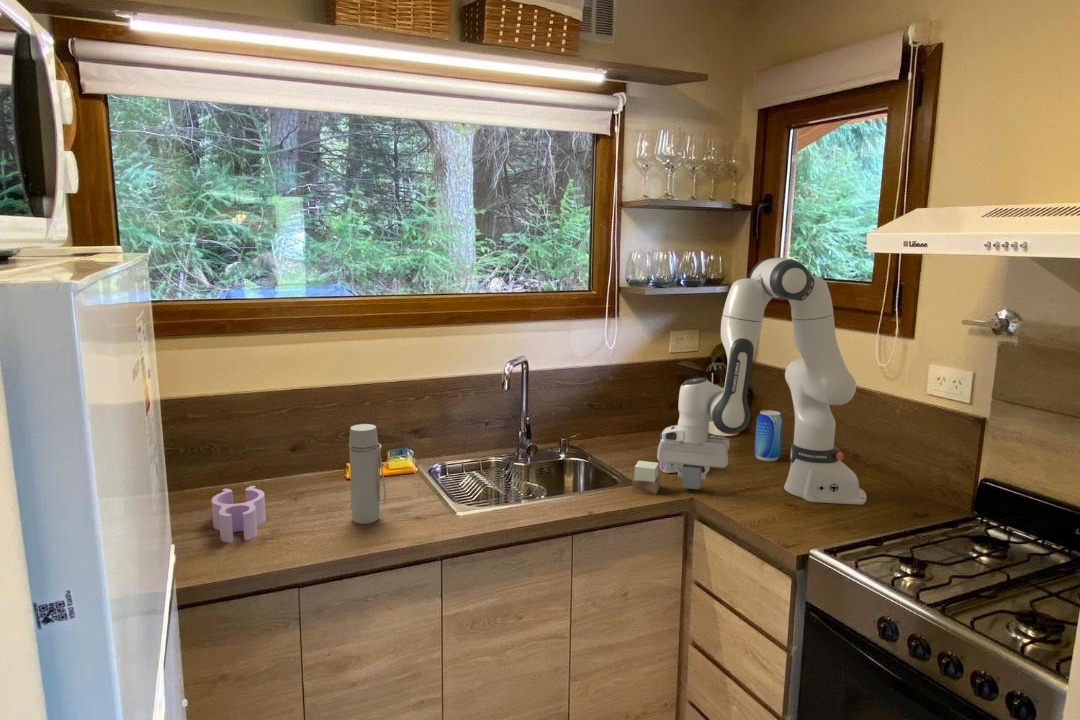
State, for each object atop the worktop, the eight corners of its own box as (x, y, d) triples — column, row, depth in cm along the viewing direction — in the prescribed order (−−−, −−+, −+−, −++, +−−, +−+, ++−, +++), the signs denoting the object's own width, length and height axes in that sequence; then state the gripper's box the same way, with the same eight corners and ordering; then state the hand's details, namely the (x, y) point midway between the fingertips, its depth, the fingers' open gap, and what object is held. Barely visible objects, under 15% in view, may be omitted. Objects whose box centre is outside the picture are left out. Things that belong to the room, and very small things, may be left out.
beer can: (748, 456, 241) (751, 410, 238) (767, 453, 245) (770, 408, 242) (766, 463, 234) (769, 416, 231) (785, 460, 237) (788, 414, 234)
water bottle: (346, 525, 180) (343, 430, 175) (358, 513, 187) (355, 422, 183) (380, 527, 178) (378, 432, 174) (391, 515, 186) (389, 424, 182)
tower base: (659, 488, 210) (660, 475, 209) (656, 496, 204) (656, 482, 203) (636, 485, 212) (637, 472, 212) (632, 493, 206) (632, 480, 205)
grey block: (700, 483, 209) (701, 464, 208) (699, 489, 204) (699, 469, 203) (683, 481, 210) (684, 462, 209) (681, 487, 206) (682, 468, 205)
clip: (266, 538, 172) (264, 511, 170) (210, 546, 167) (208, 518, 166) (265, 508, 190) (264, 484, 189) (215, 514, 185) (213, 489, 184)
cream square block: (658, 475, 209) (658, 462, 208) (654, 482, 203) (655, 469, 203) (638, 473, 211) (638, 460, 210) (634, 479, 205) (634, 466, 205)
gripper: (730, 433, 204) (728, 478, 207) (660, 427, 210) (659, 471, 213) (729, 439, 198) (727, 485, 201) (656, 433, 205) (655, 478, 207)
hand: (691, 478), depth 207 cm, fingers closed on grey block, 5 cm apart
